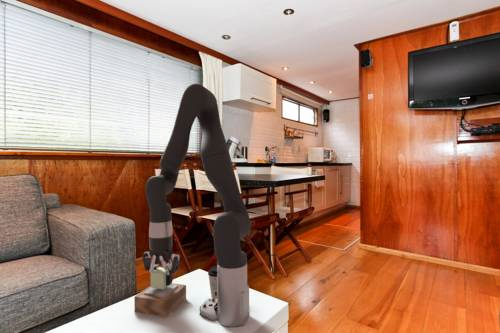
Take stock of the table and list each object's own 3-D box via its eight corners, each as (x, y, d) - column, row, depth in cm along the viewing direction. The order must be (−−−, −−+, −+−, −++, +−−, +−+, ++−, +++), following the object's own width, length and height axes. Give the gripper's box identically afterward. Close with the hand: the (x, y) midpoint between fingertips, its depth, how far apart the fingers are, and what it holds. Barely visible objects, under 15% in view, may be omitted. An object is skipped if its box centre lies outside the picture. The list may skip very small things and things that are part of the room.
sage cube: (172, 282, 95) (171, 268, 94) (163, 289, 90) (163, 274, 90) (159, 281, 96) (159, 267, 96) (150, 287, 91) (150, 272, 91)
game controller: (216, 319, 83) (204, 303, 84) (205, 329, 84) (193, 313, 85) (228, 303, 92) (216, 289, 94) (217, 313, 94) (206, 299, 95)
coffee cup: (217, 303, 94) (217, 274, 94) (203, 296, 99) (203, 269, 98) (231, 295, 100) (231, 268, 99) (217, 289, 104) (217, 263, 104)
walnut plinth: (186, 299, 97) (186, 283, 97) (166, 317, 85) (166, 299, 85) (156, 294, 100) (156, 279, 100) (134, 311, 89) (134, 294, 89)
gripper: (185, 232, 94) (185, 281, 94) (149, 230, 98) (150, 277, 98) (173, 238, 87) (174, 291, 87) (135, 235, 91) (136, 286, 91)
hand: (161, 283), depth 93 cm, fingers closed on sage cube, 5 cm apart
